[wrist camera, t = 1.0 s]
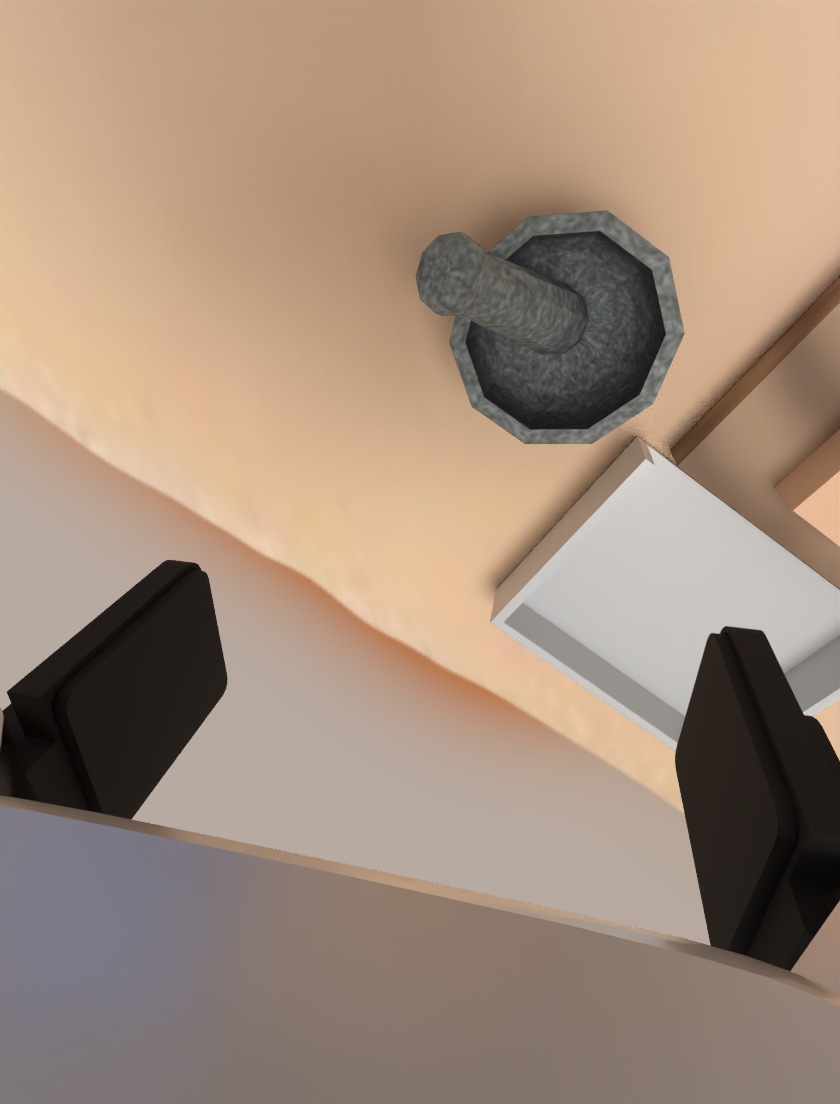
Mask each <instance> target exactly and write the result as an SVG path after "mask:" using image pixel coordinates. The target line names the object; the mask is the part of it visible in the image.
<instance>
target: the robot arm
mask: <svg viewBox="0 0 840 1104" xmlns="http://www.w3.org/2000/svg"><path fill="white" fill-rule="evenodd" d="M226 686H227V672H226V667H225V662H224V657H223V651H222V646H221V641H220V636H219V631H218V625H217V620H216V615H215V609H214V604H213V599H212V594H211V588H210V583H209V578H208V575H207V574H206V572H204V571H201V568H200V567H199V565H198V564H196V563H191V562H183V561H175V560H167V561H165V562H163V563H162V564H160V565H159V566H158V567H157V568H156V569H154V570H153V571H152V572H151V573H150V574H148V575H147V576H146V577H145V578H143V579H142V580H141V581H140V582H139V583H137V584H136V585H135V586H134V587H133V588H131V589H130V590H129V591H128V592H127V593H125V594H124V595H123V596H122V597H121V598H120V599H118V600H117V601H116V602H115V603H113V604H112V605H111V606H110V607H109V608H107V609H106V610H105V611H104V612H102V614H100V615H99V616H98V617H96V618H95V619H94V620H93V621H92V622H90V623H89V624H88V625H87V626H86V627H84V628H83V629H82V630H81V631H80V632H78V633H77V634H76V635H75V636H74V637H72V638H71V639H70V640H69V641H68V642H66V643H65V644H64V645H63V646H61V647H60V648H59V649H58V650H57V651H55V652H54V653H53V654H52V655H51V656H49V657H48V658H47V659H46V660H45V661H43V662H42V663H41V664H40V665H39V666H37V667H36V668H35V669H34V670H33V671H31V672H30V673H29V674H28V675H27V676H25V677H24V678H23V679H22V680H20V681H19V682H18V683H17V684H16V685H14V686H13V687H12V688H11V689H10V690H8V691H7V694H8V696H9V698H10V701H11V704H10V705H9V706H8V707H7V708H6V709H4V710H3V711H2V709H1V708H0V1104H840V761H839V759H838V757H837V755H836V753H835V751H834V749H833V747H832V745H831V743H830V741H829V739H828V737H827V735H826V733H825V731H824V729H823V727H822V726H821V724H820V723H819V722H818V720H817V719H815V718H814V717H812V716H808V715H804V714H803V712H802V710H801V708H800V706H799V703H798V701H797V699H796V697H795V695H794V693H793V691H792V689H791V687H790V685H789V683H788V681H787V679H786V676H785V674H784V672H783V670H782V668H781V666H780V664H779V662H778V660H777V658H776V656H775V654H774V652H773V649H772V647H771V645H770V643H769V641H768V639H767V637H766V635H765V633H764V632H763V631H761V630H755V629H747V628H739V627H730V626H725V627H723V629H722V630H721V632H720V634H717V633H711V634H710V635H709V636H708V639H707V642H706V645H705V649H704V652H703V656H702V659H701V663H700V666H699V670H698V673H697V677H696V680H695V684H694V687H693V691H692V694H691V698H690V701H689V705H688V708H687V712H686V715H685V719H684V722H683V726H682V729H681V733H680V736H679V740H678V743H677V748H676V754H675V766H676V772H677V777H678V782H679V787H680V792H681V797H682V802H683V807H684V812H685V817H686V823H687V828H688V833H689V838H690V843H691V848H692V853H693V858H694V863H695V868H696V873H697V878H698V883H699V888H700V893H701V898H702V903H703V909H704V914H705V919H706V923H707V929H708V934H709V939H710V943H711V946H709V945H705V944H702V943H698V942H694V941H690V940H687V939H683V938H679V937H674V936H670V935H666V934H662V933H658V932H653V931H649V930H645V929H641V928H636V927H632V926H627V925H623V924H619V923H615V922H610V921H606V920H601V919H597V918H593V917H589V916H585V915H580V914H576V913H572V912H567V911H563V910H557V909H553V908H549V907H544V906H540V905H535V904H530V903H526V902H521V901H516V900H512V899H507V898H502V897H498V896H493V895H489V894H484V893H479V892H475V891H469V890H465V889H461V888H456V887H451V886H447V885H442V884H438V883H433V882H428V881H423V880H419V879H414V878H409V877H405V876H400V875H395V874H390V873H386V872H381V871H377V870H372V869H367V868H362V867H358V866H353V865H348V864H343V863H338V862H334V861H329V860H324V859H320V858H315V857H309V856H305V855H300V854H295V853H291V852H286V851H281V850H277V849H272V848H267V847H262V846H257V845H253V844H248V843H243V842H238V841H233V840H229V839H224V838H219V837H214V836H209V835H204V834H199V833H194V832H189V831H185V830H180V829H175V828H170V827H165V826H160V825H155V824H150V823H145V822H140V821H135V820H131V819H132V818H133V816H134V815H135V814H136V812H137V811H138V810H139V808H140V807H141V806H142V804H143V803H144V802H145V800H146V799H147V797H148V796H149V795H150V793H151V792H152V791H153V789H154V788H155V787H156V785H157V784H158V783H159V781H160V780H161V778H162V777H163V776H164V774H165V773H166V771H167V770H168V769H169V768H170V766H171V765H172V764H173V762H174V761H175V760H176V758H177V757H178V755H179V754H180V753H181V751H182V750H183V749H184V747H185V746H186V744H187V743H188V742H189V740H190V739H191V738H192V736H193V735H194V734H195V732H196V731H197V730H198V728H199V727H200V726H201V724H202V723H203V722H204V720H205V719H206V717H207V716H208V715H209V713H210V712H211V711H212V709H213V708H214V707H215V705H216V704H217V703H218V701H219V700H220V698H221V697H222V696H223V694H224V692H225V690H226Z"/></svg>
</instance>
